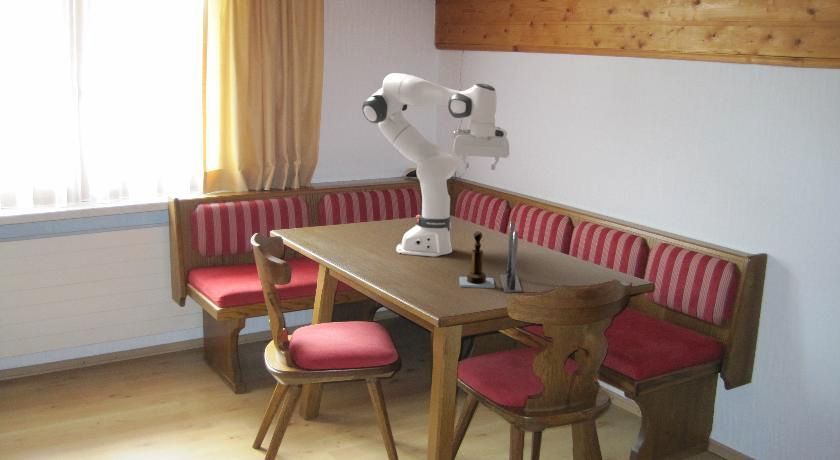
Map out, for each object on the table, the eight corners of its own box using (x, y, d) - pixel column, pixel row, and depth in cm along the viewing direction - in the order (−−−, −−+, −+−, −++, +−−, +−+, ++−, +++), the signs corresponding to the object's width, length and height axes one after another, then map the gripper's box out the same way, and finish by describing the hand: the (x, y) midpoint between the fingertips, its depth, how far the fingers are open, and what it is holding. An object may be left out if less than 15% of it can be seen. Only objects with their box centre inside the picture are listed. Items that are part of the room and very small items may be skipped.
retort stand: (504, 292, 294) (507, 232, 289) (500, 277, 312) (503, 220, 308) (521, 293, 294) (525, 233, 289) (516, 277, 312) (520, 221, 308)
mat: (460, 287, 298) (460, 284, 298) (459, 278, 308) (459, 276, 308) (494, 288, 298) (494, 285, 298) (492, 280, 308) (492, 277, 308)
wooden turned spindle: (473, 277, 307) (474, 228, 303) (489, 280, 304) (491, 231, 300) (463, 281, 302) (465, 232, 298) (479, 285, 299) (481, 234, 294)
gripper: (453, 130, 303) (451, 168, 307) (511, 132, 303) (508, 171, 307) (453, 127, 310) (450, 165, 313) (509, 130, 309) (507, 168, 313)
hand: (479, 168), depth 310 cm, fingers open, 8 cm apart
